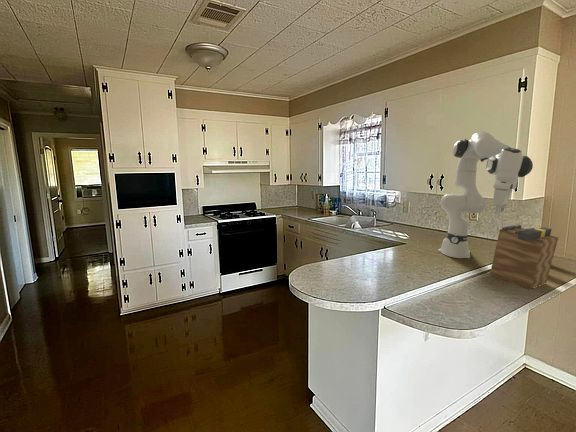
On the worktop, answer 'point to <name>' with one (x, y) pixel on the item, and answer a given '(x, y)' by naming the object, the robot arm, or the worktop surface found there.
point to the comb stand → (523, 257)
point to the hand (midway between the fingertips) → (499, 213)
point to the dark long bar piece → (534, 234)
